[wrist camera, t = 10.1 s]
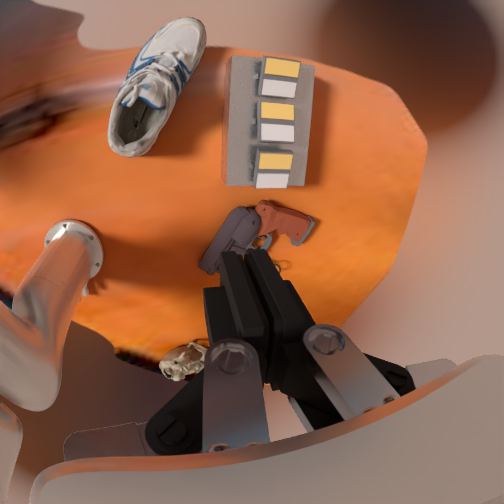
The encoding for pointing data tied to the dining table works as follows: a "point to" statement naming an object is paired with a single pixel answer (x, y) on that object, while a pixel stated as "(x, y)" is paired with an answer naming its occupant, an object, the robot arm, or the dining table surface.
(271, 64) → the switch
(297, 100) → the switch unit
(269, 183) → the switch
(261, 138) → the switch
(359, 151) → the dining table surface
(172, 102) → the athletic shoe
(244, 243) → the toy gun
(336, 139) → the dining table surface
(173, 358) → the skull
